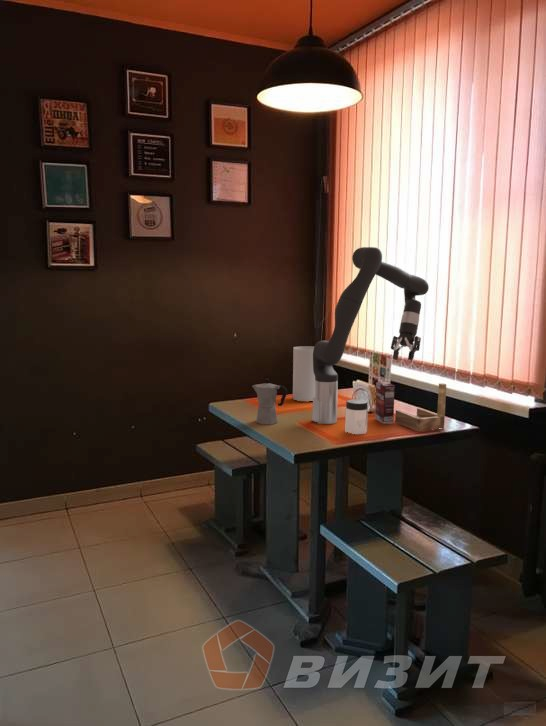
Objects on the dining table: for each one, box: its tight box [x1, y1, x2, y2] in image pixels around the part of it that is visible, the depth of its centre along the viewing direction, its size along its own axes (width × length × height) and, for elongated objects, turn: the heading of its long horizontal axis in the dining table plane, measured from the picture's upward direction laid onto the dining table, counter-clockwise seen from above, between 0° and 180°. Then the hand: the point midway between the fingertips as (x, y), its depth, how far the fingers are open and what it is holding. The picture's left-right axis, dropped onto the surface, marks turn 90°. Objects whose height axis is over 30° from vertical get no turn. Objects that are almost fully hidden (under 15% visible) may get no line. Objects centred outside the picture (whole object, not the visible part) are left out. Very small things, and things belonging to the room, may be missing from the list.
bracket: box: [394, 382, 447, 432], centre depth 241 cm, size 12×16×18 cm
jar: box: [344, 398, 369, 435], centre depth 232 cm, size 9×8×12 cm
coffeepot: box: [251, 378, 288, 425], centre depth 245 cm, size 15×9×18 cm, turn 67°
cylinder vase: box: [292, 345, 315, 402], centre depth 286 cm, size 12×12×25 cm
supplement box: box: [374, 381, 396, 425], centre depth 248 cm, size 9×5×16 cm, turn 14°
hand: (402, 359), depth 260 cm, fingers open, 8 cm apart
